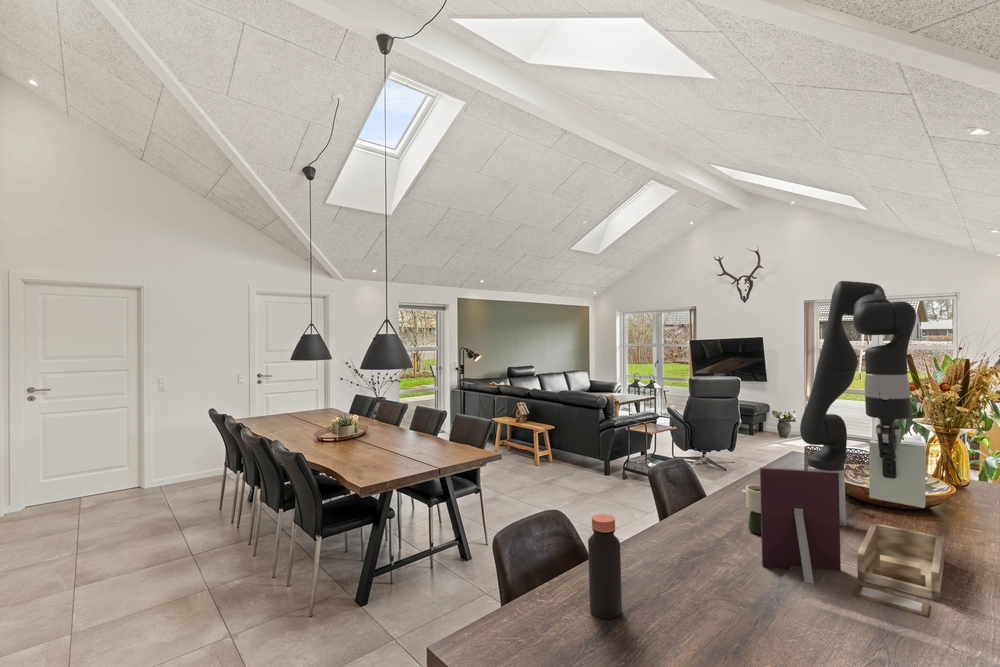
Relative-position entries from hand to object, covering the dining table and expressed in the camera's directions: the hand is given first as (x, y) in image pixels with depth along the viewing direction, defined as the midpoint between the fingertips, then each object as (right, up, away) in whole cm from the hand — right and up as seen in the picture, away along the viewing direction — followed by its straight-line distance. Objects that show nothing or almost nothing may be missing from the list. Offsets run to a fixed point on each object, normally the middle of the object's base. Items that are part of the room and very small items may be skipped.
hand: (890, 475), depth 102 cm
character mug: (-7, -29, +39) cm, 48 cm away
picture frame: (-11, -28, +12) cm, 33 cm away
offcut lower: (+7, -26, +7) cm, 28 cm away
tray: (+13, -28, +12) cm, 33 cm away
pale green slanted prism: (+1, -5, -1) cm, 5 cm away
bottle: (-61, -30, +1) cm, 68 cm away
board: (0, -28, 0) cm, 28 cm away
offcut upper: (+7, -24, +6) cm, 26 cm away
